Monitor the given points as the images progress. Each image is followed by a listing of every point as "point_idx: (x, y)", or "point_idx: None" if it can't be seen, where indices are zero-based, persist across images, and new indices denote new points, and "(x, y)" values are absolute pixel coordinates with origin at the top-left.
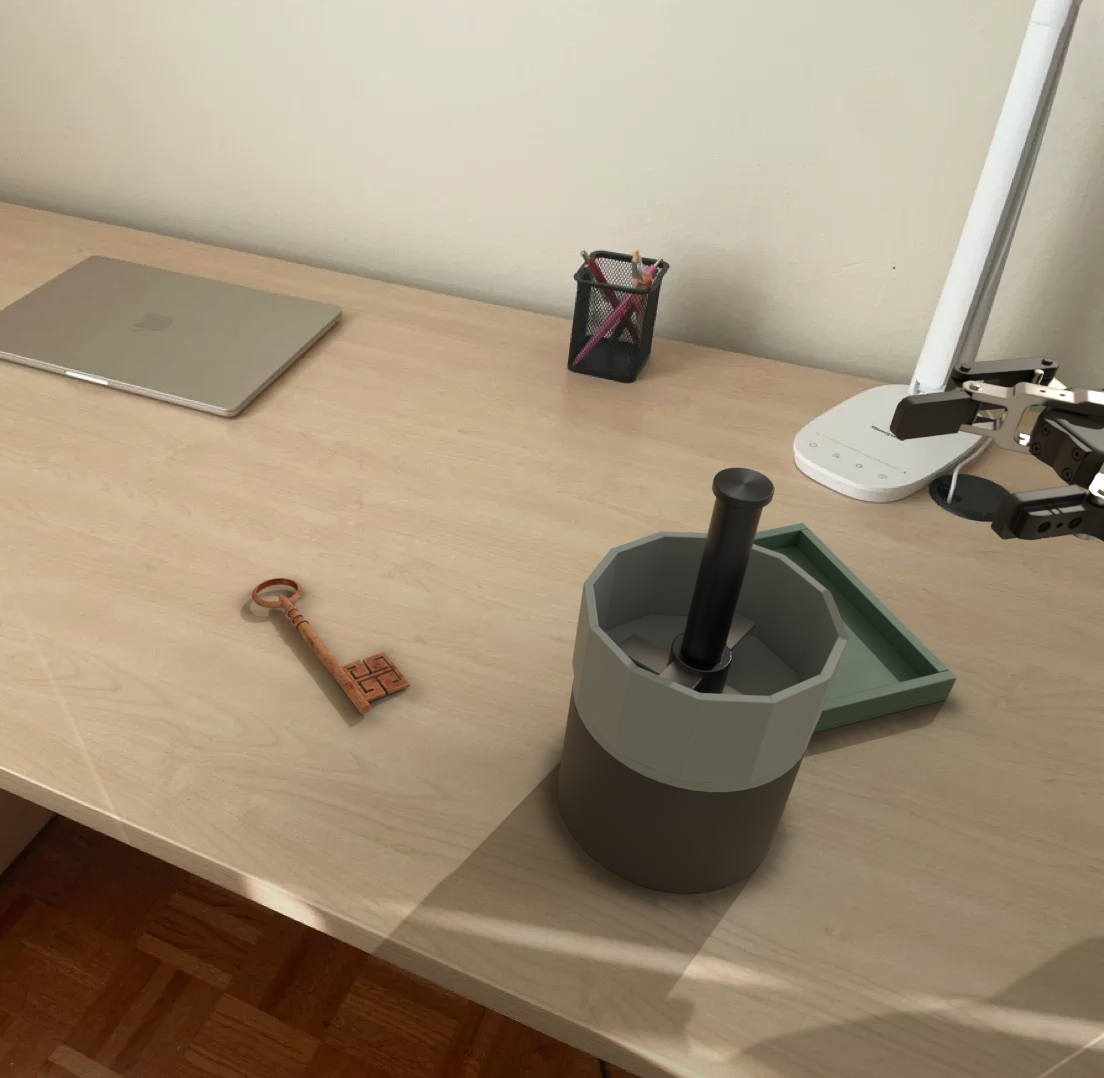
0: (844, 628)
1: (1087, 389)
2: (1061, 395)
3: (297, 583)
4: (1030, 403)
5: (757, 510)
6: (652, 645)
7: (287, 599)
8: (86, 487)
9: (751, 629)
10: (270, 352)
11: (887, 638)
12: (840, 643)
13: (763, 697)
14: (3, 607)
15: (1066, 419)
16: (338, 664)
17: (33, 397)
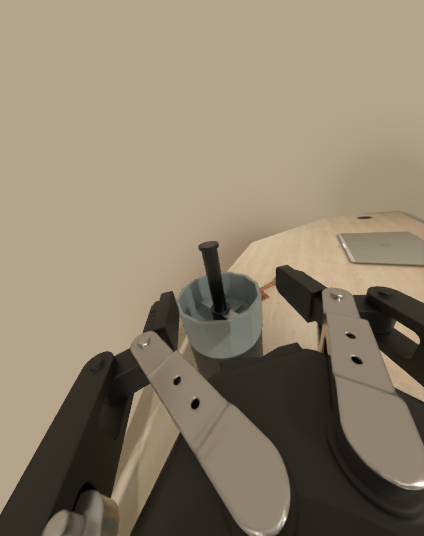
0: (204, 323)
1: None
2: (361, 363)
3: None
4: (325, 332)
5: (202, 252)
6: (236, 308)
7: None
8: (302, 255)
9: None
10: (400, 260)
11: None
12: (196, 320)
13: (178, 299)
14: (264, 257)
15: (302, 367)
16: (261, 289)
17: (328, 243)
